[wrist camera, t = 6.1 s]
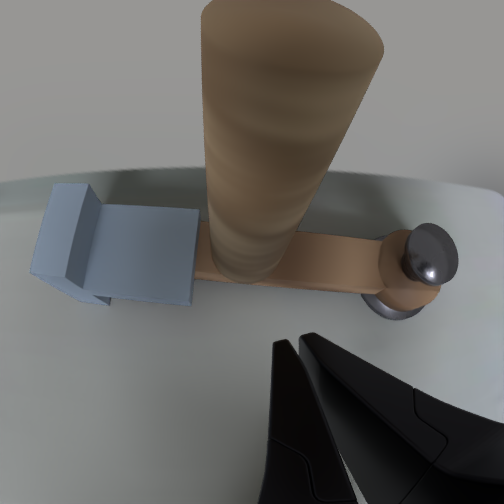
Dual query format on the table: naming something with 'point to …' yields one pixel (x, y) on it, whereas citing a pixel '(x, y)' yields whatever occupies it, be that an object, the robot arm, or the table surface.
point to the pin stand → (422, 265)
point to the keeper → (116, 249)
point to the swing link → (287, 148)
